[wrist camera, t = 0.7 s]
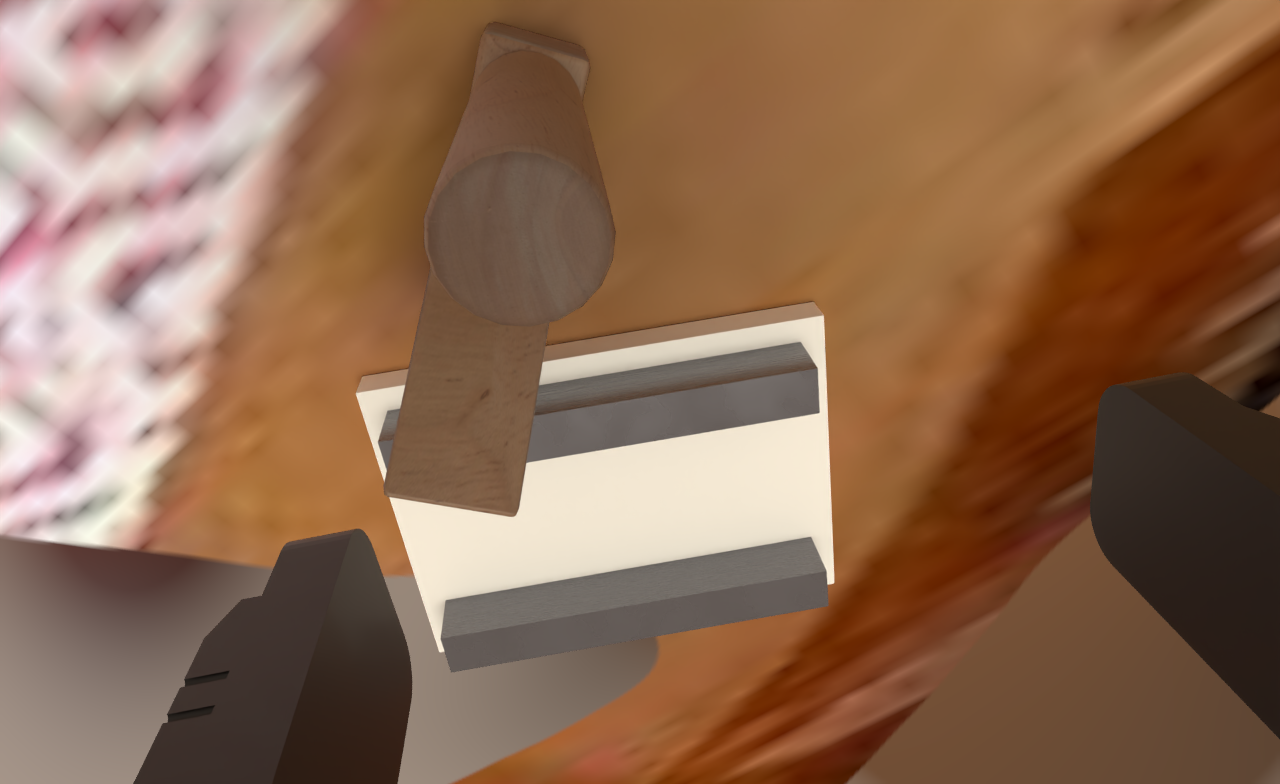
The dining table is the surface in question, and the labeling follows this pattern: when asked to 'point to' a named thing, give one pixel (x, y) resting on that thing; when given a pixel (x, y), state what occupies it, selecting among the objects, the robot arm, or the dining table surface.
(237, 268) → the dining table surface
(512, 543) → the slotted base
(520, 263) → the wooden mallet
